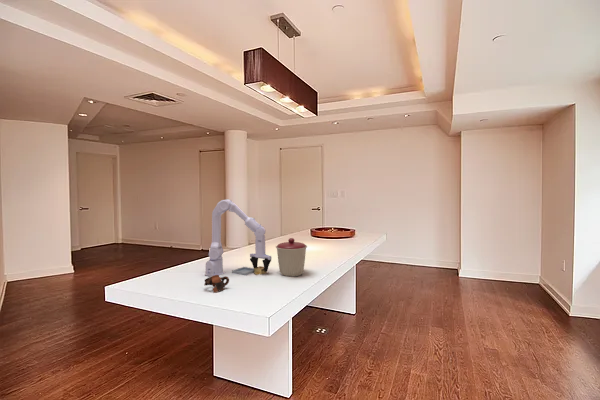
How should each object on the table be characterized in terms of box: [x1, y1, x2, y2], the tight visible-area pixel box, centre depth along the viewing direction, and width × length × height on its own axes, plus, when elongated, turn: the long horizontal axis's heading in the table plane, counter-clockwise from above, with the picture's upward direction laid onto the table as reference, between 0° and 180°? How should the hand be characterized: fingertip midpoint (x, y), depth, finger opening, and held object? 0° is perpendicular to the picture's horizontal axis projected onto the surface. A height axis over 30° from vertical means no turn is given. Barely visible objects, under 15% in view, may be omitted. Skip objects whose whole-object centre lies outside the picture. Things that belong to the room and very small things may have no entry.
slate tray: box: [231, 266, 254, 276], centre depth 191 cm, size 11×11×2 cm
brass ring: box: [253, 265, 268, 276], centre depth 188 cm, size 6×5×3 cm
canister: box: [275, 237, 308, 277], centre depth 187 cm, size 18×18×21 cm
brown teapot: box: [204, 275, 230, 294], centre depth 162 cm, size 12×10×8 cm
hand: (260, 270), depth 189 cm, fingers open, 7 cm apart
